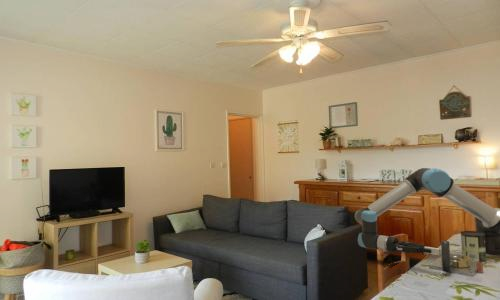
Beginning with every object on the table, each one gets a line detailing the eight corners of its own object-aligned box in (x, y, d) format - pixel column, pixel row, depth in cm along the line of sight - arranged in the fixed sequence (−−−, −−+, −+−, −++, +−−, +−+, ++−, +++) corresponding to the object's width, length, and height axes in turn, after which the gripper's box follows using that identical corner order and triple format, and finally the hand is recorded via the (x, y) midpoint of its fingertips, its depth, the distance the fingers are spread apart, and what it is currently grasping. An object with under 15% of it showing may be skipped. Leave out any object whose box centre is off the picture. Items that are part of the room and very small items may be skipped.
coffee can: (480, 258, 173) (479, 230, 174) (490, 264, 163) (488, 235, 164) (458, 257, 175) (457, 230, 176) (467, 263, 165) (465, 235, 166)
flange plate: (440, 259, 174) (440, 248, 174) (487, 267, 159) (487, 255, 160) (429, 268, 161) (428, 256, 161) (478, 277, 147) (477, 264, 147)
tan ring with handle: (445, 258, 169) (444, 232, 170) (472, 262, 161) (471, 235, 161) (431, 269, 154) (429, 240, 155) (460, 274, 146) (458, 244, 146)
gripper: (394, 248, 175) (444, 257, 158) (383, 254, 166) (435, 263, 149) (393, 234, 175) (443, 241, 158) (382, 239, 166) (434, 246, 149)
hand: (439, 252), depth 153 cm, fingers closed
